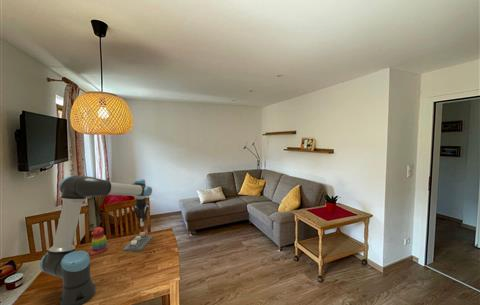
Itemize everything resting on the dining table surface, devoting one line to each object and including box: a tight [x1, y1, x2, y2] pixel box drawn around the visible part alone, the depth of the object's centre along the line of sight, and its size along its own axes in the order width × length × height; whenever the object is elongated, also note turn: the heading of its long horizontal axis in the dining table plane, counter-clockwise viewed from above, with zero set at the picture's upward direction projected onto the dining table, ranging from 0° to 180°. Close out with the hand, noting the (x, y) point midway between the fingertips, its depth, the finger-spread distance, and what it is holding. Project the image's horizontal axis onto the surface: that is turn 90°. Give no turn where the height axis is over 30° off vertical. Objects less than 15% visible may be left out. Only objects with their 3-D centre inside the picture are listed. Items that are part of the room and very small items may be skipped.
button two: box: [135, 235, 141, 242], centre depth 164 cm, size 4×4×3 cm
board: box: [122, 234, 154, 252], centre depth 165 cm, size 20×14×3 cm
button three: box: [139, 231, 146, 238], centre depth 171 cm, size 4×4×3 cm
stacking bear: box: [89, 226, 108, 256], centre depth 155 cm, size 11×10×18 cm
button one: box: [130, 239, 137, 246], centre depth 158 cm, size 4×4×3 cm
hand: (142, 225), depth 170 cm, fingers closed
